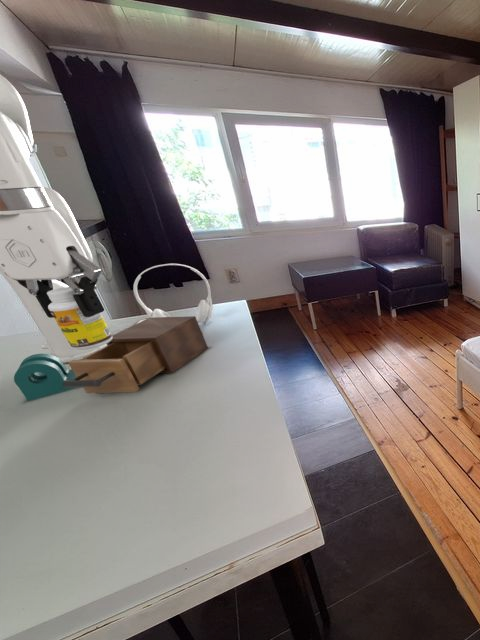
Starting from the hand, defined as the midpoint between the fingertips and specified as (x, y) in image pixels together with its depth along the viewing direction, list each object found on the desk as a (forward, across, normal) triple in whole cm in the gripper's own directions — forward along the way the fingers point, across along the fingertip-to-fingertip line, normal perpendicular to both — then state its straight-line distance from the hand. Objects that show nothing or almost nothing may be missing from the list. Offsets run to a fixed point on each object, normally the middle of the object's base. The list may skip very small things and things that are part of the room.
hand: (76, 313), depth 63 cm
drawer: (+22, -13, +12) cm, 28 cm away
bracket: (+23, -27, +16) cm, 39 cm away
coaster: (+24, -41, +53) cm, 71 cm away
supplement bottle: (+6, 0, 0) cm, 6 cm away
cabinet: (+23, -13, +25) cm, 36 cm away
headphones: (+24, -24, +48) cm, 58 cm away
